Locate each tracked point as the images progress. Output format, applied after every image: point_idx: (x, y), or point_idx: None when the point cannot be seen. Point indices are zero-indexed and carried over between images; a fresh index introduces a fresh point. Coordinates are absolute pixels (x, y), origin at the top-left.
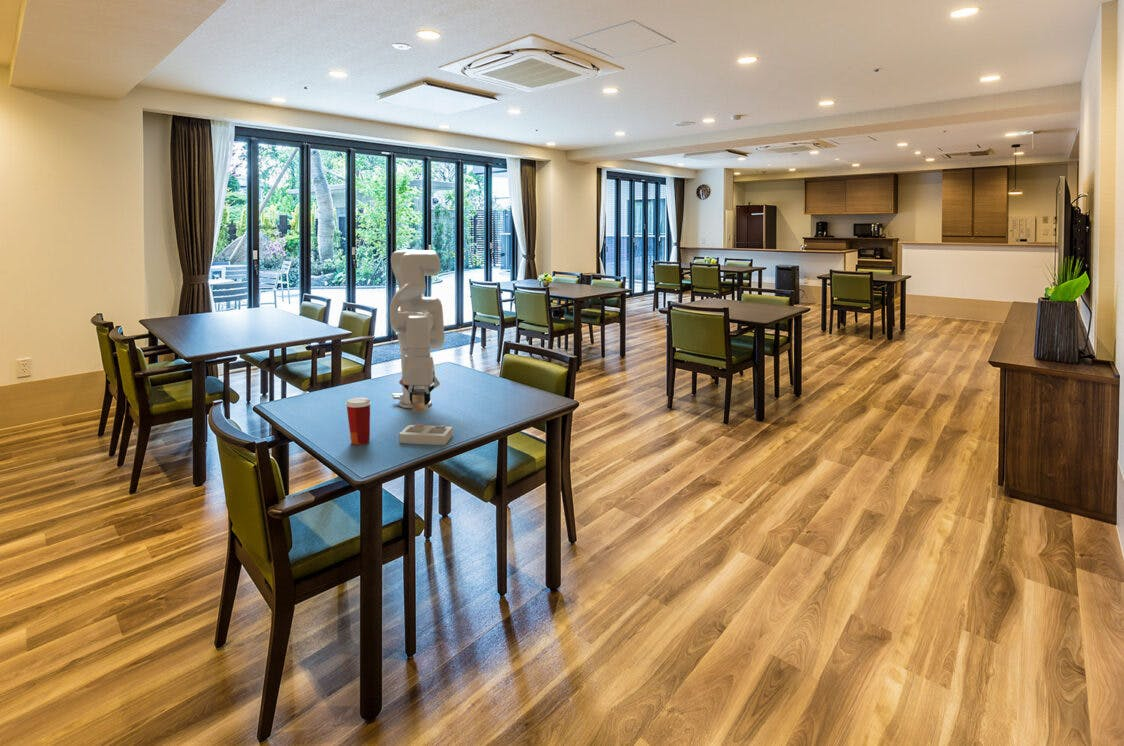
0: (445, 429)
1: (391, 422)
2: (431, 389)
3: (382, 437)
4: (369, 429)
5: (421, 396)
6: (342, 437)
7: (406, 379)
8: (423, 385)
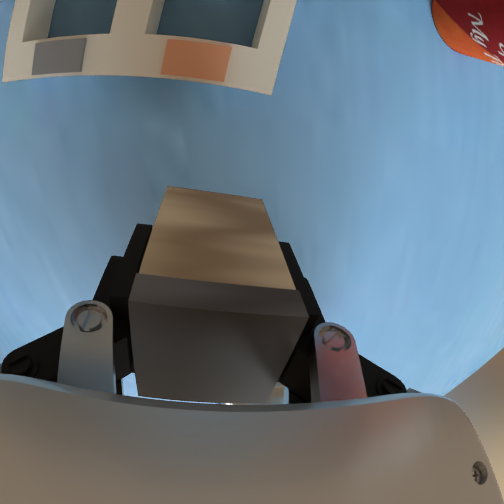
0: (34, 40)
1: (349, 260)
2: (37, 351)
3: (389, 49)
4: (469, 3)
5: (172, 269)
6: (501, 101)
7: (459, 463)
8: (83, 393)
